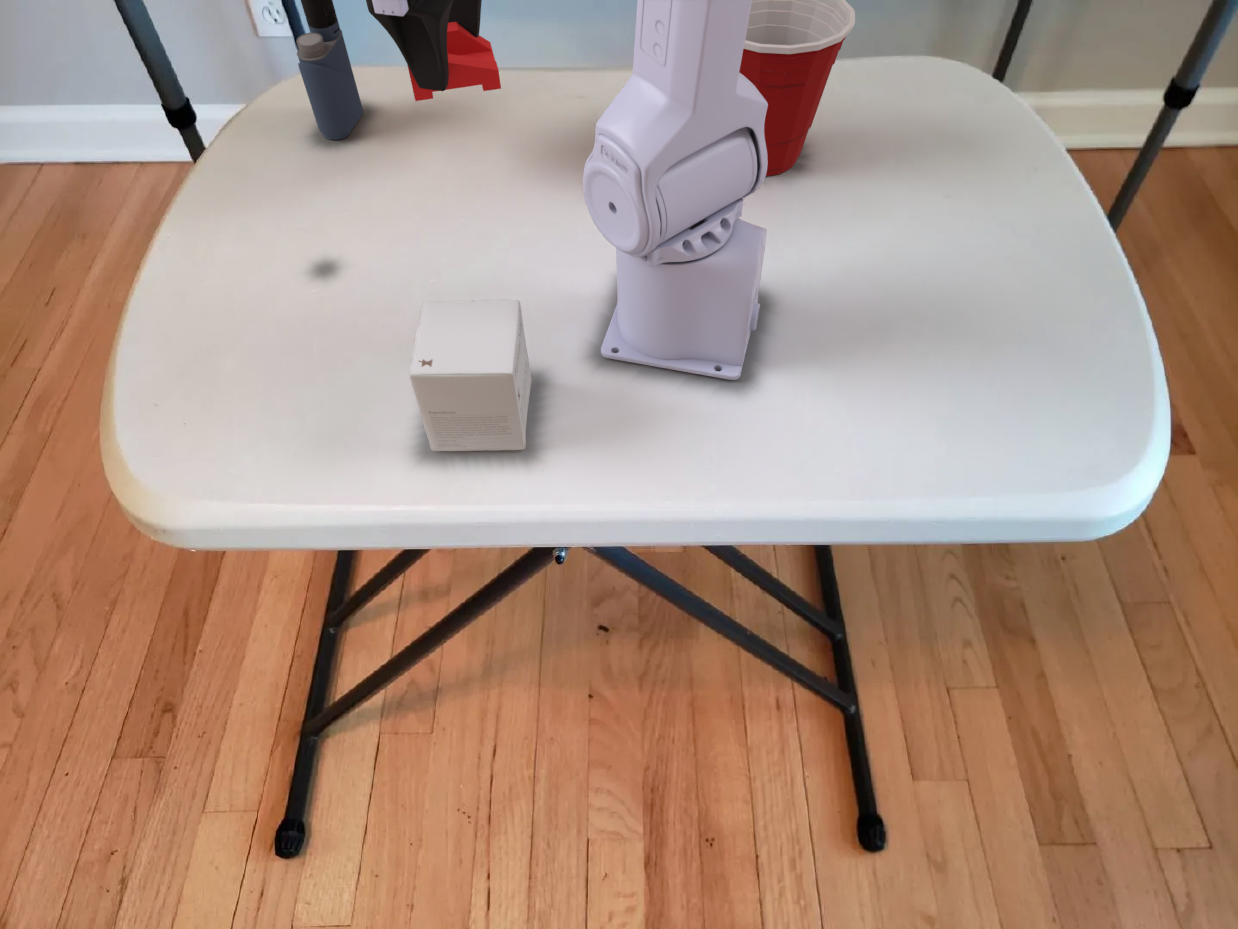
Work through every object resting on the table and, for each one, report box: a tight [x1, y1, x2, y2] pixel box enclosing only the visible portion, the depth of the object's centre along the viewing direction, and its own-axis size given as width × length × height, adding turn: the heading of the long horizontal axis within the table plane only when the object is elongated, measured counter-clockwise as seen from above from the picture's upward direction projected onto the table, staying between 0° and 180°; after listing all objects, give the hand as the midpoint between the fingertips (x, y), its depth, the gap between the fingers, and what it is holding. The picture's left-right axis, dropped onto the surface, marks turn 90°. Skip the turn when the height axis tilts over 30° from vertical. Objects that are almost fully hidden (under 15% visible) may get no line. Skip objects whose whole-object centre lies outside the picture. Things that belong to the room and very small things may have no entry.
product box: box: [408, 299, 533, 452], centre depth 56 cm, size 6×6×7 cm
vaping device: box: [295, 0, 364, 141], centre depth 73 cm, size 3×5×12 cm, turn 167°
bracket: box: [407, 22, 502, 102], centre depth 68 cm, size 6×5×3 cm
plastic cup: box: [739, 0, 856, 177], centre depth 70 cm, size 11×11×12 cm
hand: (449, 62), depth 68 cm, fingers closed on bracket, 6 cm apart
